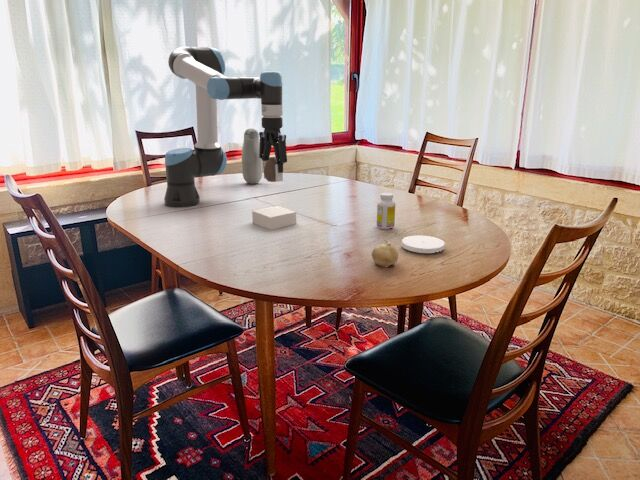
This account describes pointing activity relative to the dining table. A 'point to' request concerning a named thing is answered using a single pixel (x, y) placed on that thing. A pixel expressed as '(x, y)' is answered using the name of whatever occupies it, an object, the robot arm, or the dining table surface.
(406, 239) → the plastic lid
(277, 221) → the riser block
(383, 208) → the supplement bottle
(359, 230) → the dining table surface
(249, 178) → the grey-green rounded cylinder
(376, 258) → the onion
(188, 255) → the dining table surface
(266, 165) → the vase
